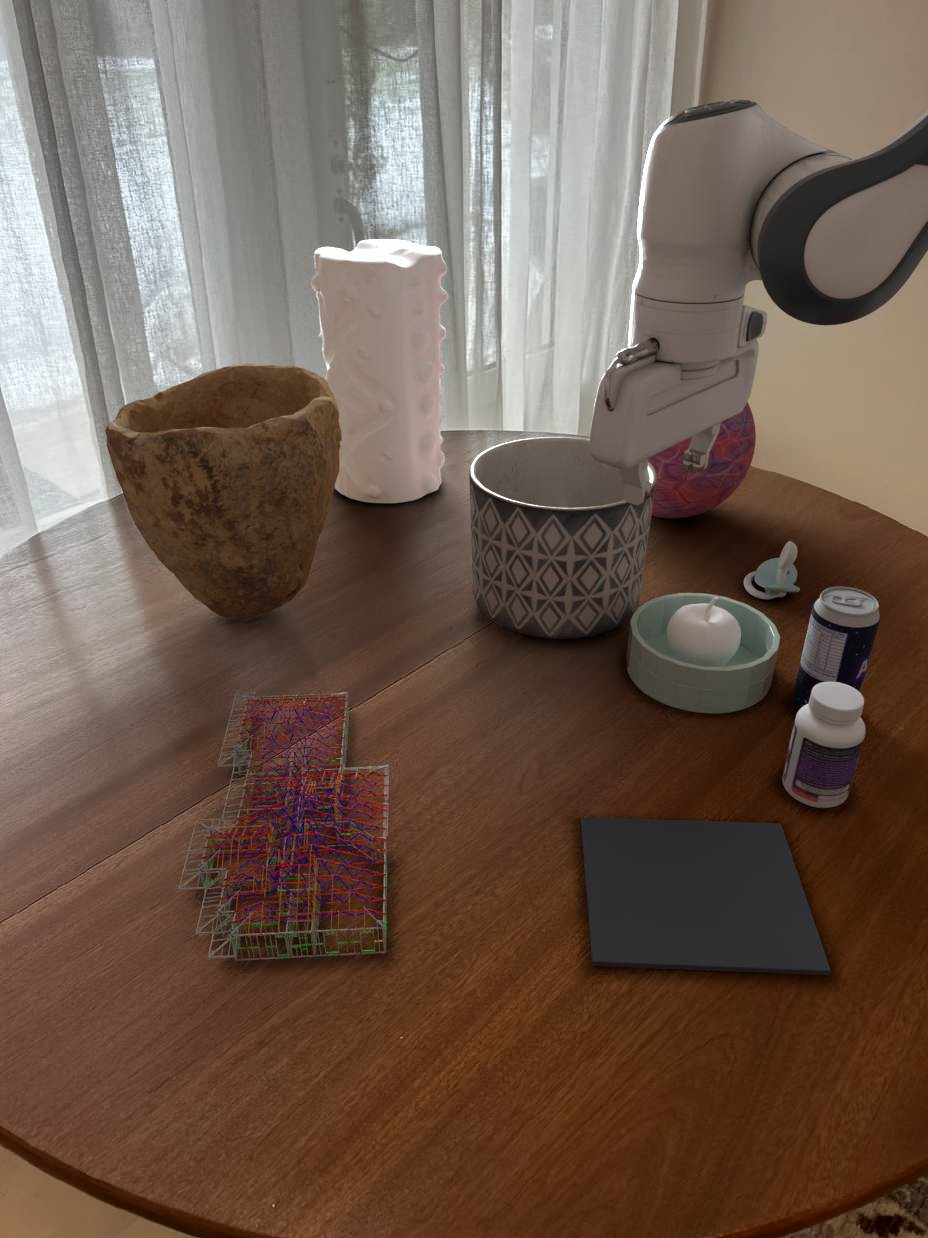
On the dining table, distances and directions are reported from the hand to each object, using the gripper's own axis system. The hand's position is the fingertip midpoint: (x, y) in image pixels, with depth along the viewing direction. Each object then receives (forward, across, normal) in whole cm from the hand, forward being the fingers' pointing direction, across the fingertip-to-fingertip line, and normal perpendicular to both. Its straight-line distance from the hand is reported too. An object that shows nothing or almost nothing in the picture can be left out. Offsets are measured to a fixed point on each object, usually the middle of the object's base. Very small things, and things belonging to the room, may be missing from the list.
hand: (666, 484), depth 83 cm
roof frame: (+20, -37, +9) cm, 43 cm away
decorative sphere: (+20, +34, +19) cm, 44 cm away
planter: (+20, +4, +15) cm, 25 cm away
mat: (+20, -22, -19) cm, 35 cm away
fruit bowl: (+20, +4, -4) cm, 21 cm away
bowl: (+20, -20, +39) cm, 48 cm away
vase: (+20, +14, +54) cm, 59 cm away
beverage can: (+20, +6, -16) cm, 27 cm away
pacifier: (+20, +24, -1) cm, 31 cm away
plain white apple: (+20, +4, -4) cm, 20 cm away
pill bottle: (+20, -5, -20) cm, 29 cm away
